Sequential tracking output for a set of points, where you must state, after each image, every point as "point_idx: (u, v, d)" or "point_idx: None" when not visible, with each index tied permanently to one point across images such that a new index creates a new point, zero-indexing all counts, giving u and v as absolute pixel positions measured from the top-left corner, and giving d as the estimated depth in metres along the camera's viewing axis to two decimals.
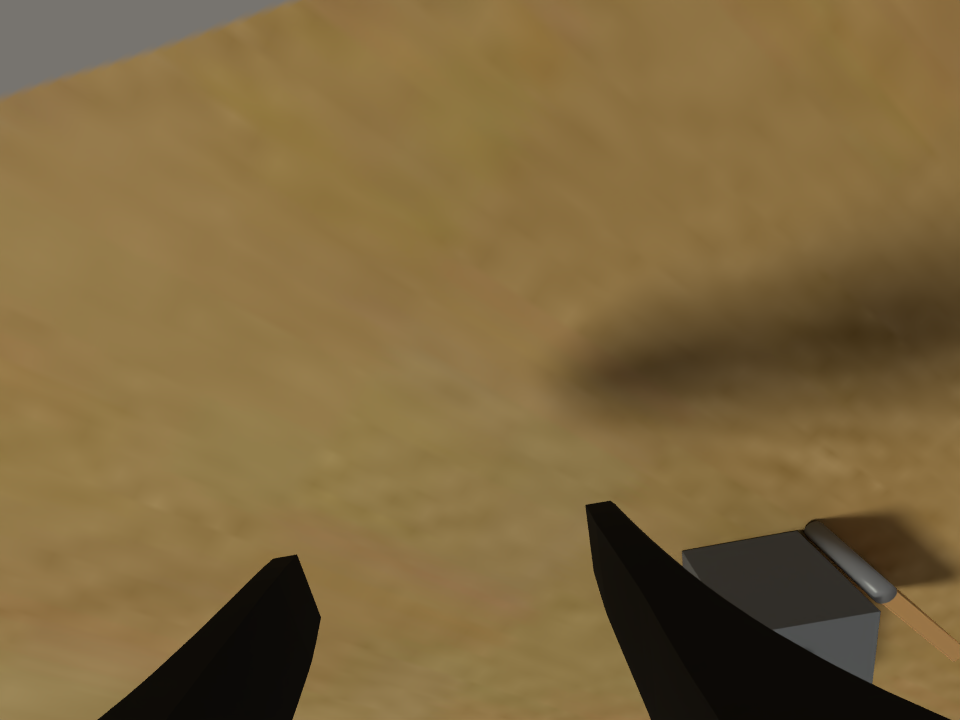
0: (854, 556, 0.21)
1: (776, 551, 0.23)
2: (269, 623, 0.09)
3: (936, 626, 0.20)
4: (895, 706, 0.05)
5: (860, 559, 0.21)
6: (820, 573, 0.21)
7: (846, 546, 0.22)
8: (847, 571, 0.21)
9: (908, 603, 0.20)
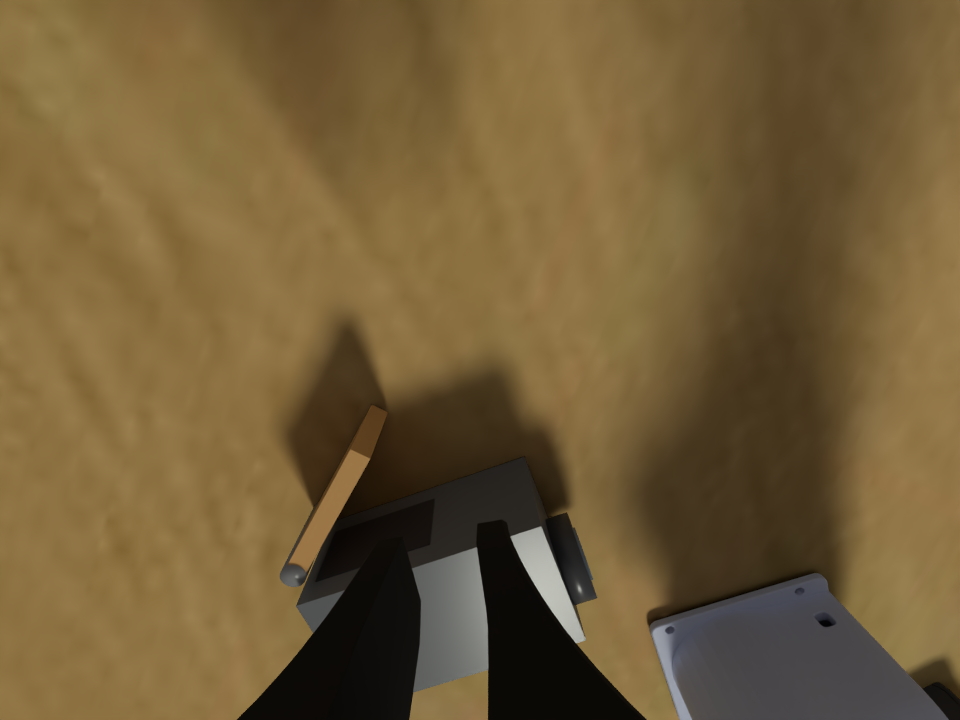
0: None
1: None
2: (392, 602, 0.09)
3: (323, 502, 0.17)
4: None
5: None
6: None
7: None
8: None
9: (299, 545, 0.18)
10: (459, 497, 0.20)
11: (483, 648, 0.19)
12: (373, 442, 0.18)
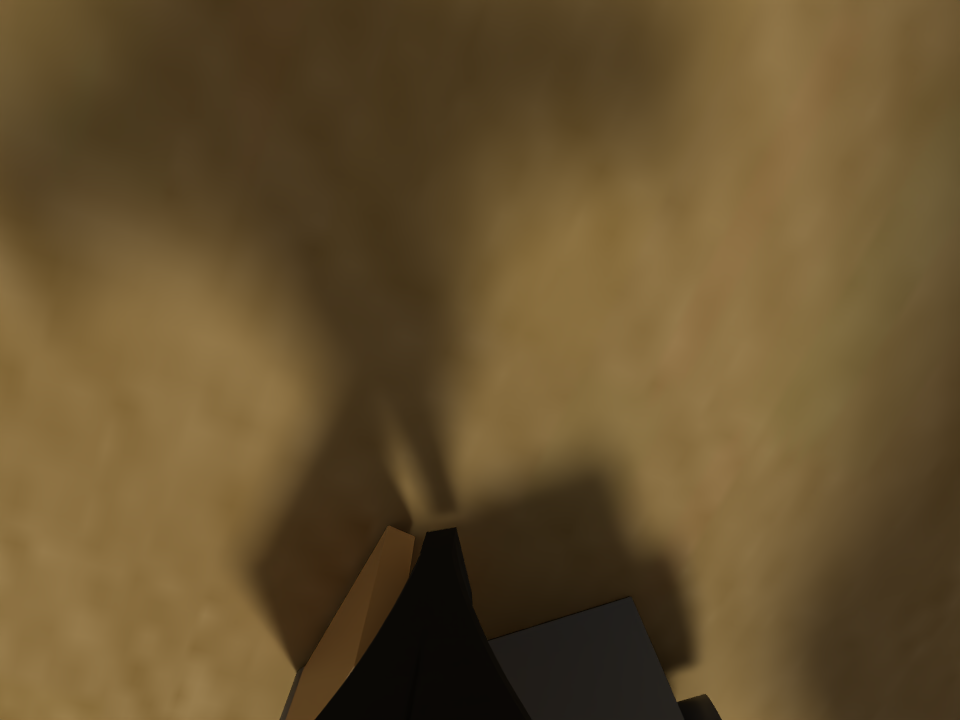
0: None
1: None
2: None
3: None
4: None
5: None
6: None
7: None
8: None
9: None
10: (534, 677, 0.12)
11: None
12: None
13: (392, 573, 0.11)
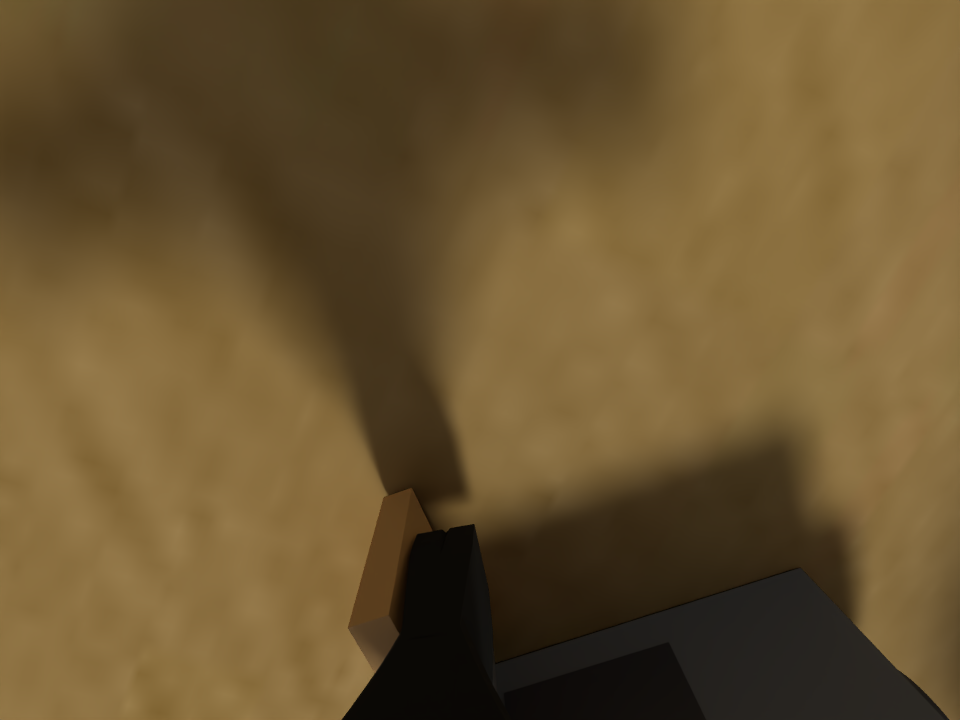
0: None
1: None
2: (475, 589, 0.09)
3: None
4: None
5: None
6: None
7: None
8: None
9: None
10: (720, 646, 0.12)
11: None
12: (391, 570, 0.09)
13: (387, 531, 0.11)
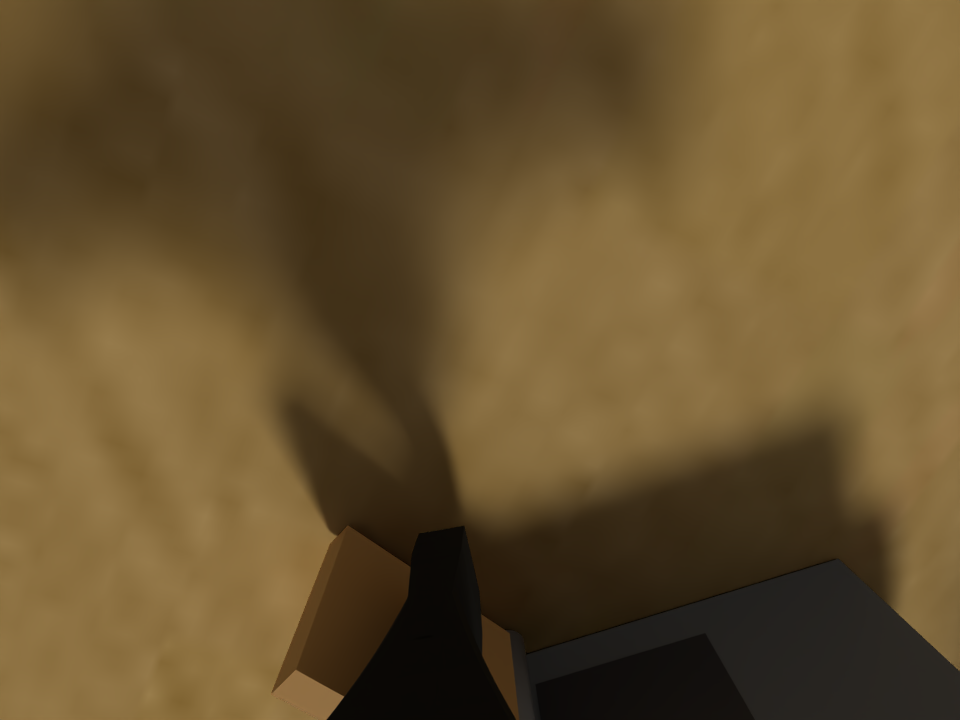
0: None
1: None
2: (463, 591, 0.09)
3: None
4: None
5: None
6: None
7: None
8: None
9: None
10: (760, 637, 0.12)
11: None
12: (311, 620, 0.09)
13: (321, 579, 0.11)
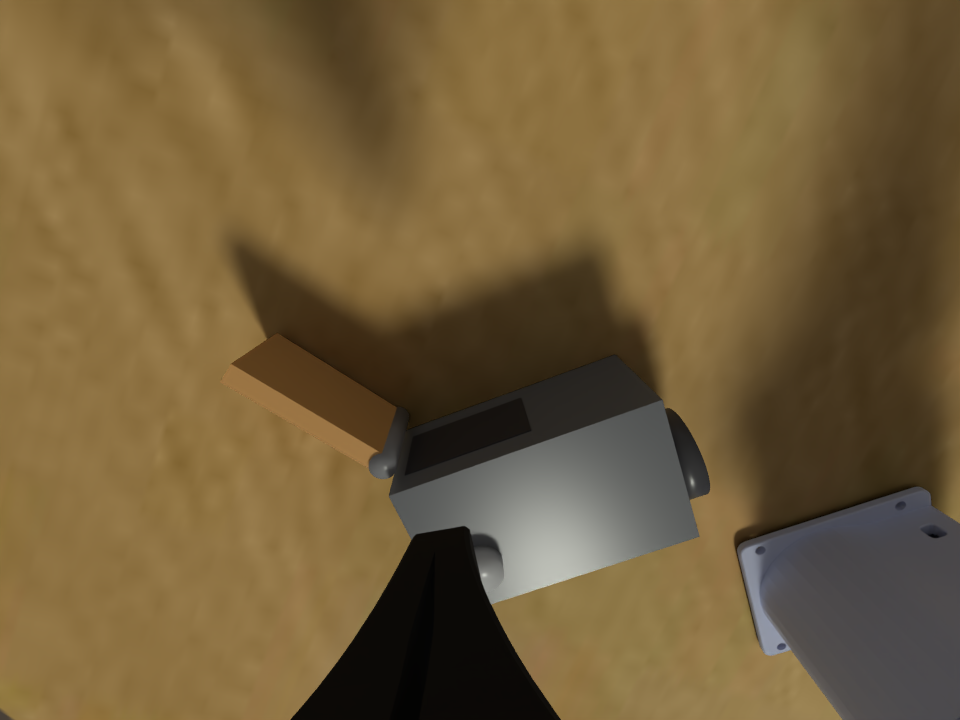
0: None
1: None
2: None
3: (288, 419, 0.16)
4: None
5: None
6: None
7: None
8: (400, 445, 0.18)
9: (344, 452, 0.16)
10: (550, 393, 0.19)
11: (588, 546, 0.17)
12: None
13: None
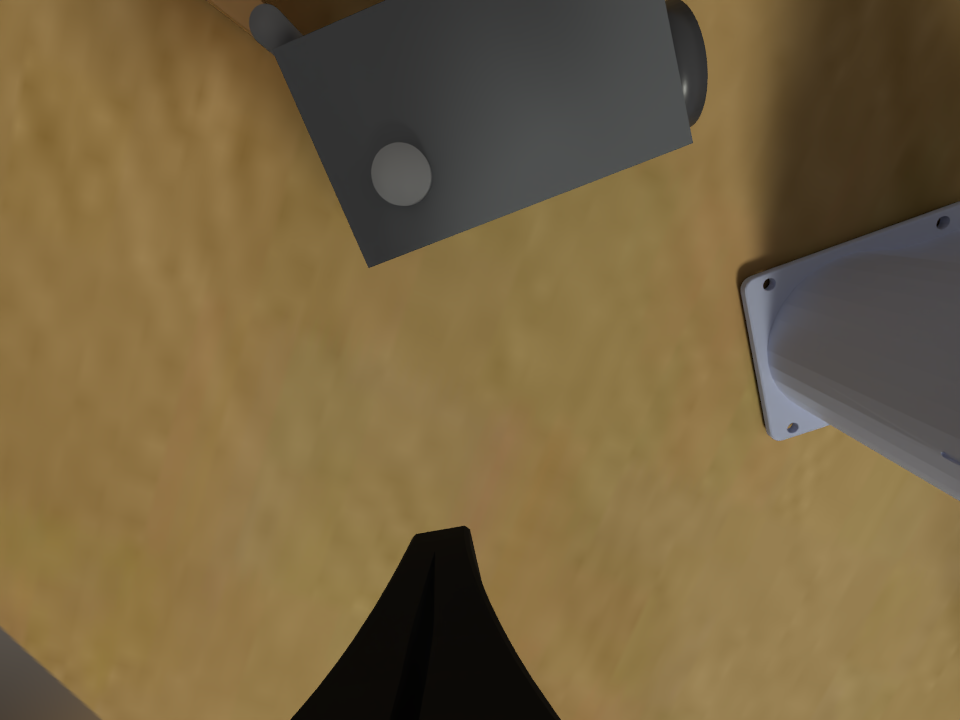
0: None
1: None
2: None
3: None
4: None
5: None
6: None
7: None
8: None
9: (215, 1, 0.12)
10: None
11: (544, 153, 0.13)
12: None
13: None
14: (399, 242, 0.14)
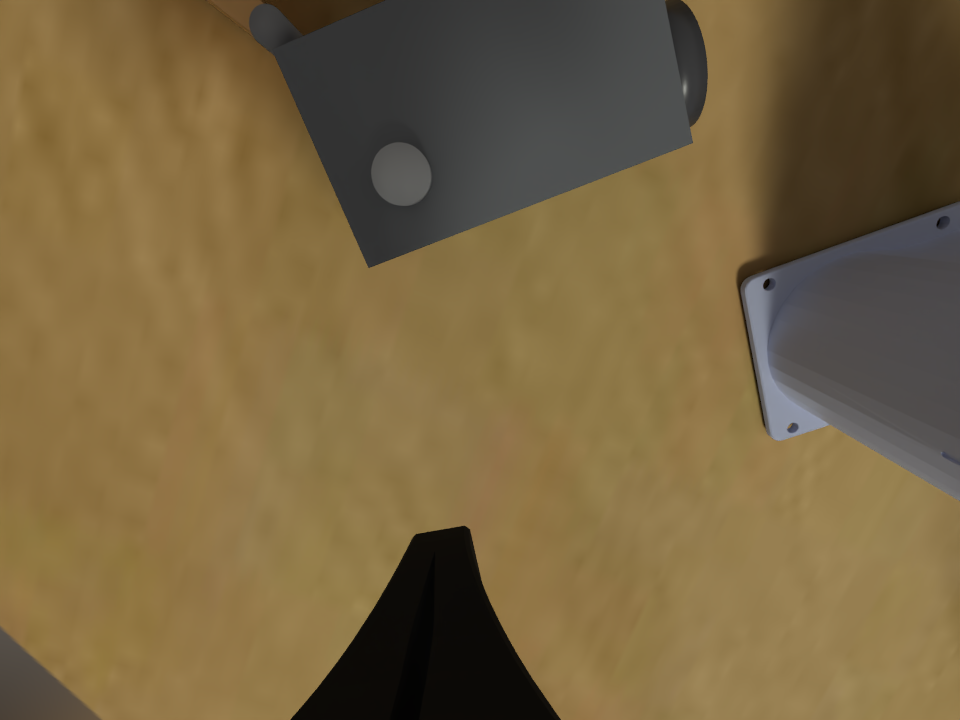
0: None
1: None
2: None
3: None
4: None
5: None
6: None
7: None
8: None
9: (215, 1, 0.12)
10: None
11: (544, 153, 0.13)
12: None
13: None
14: (399, 242, 0.14)
